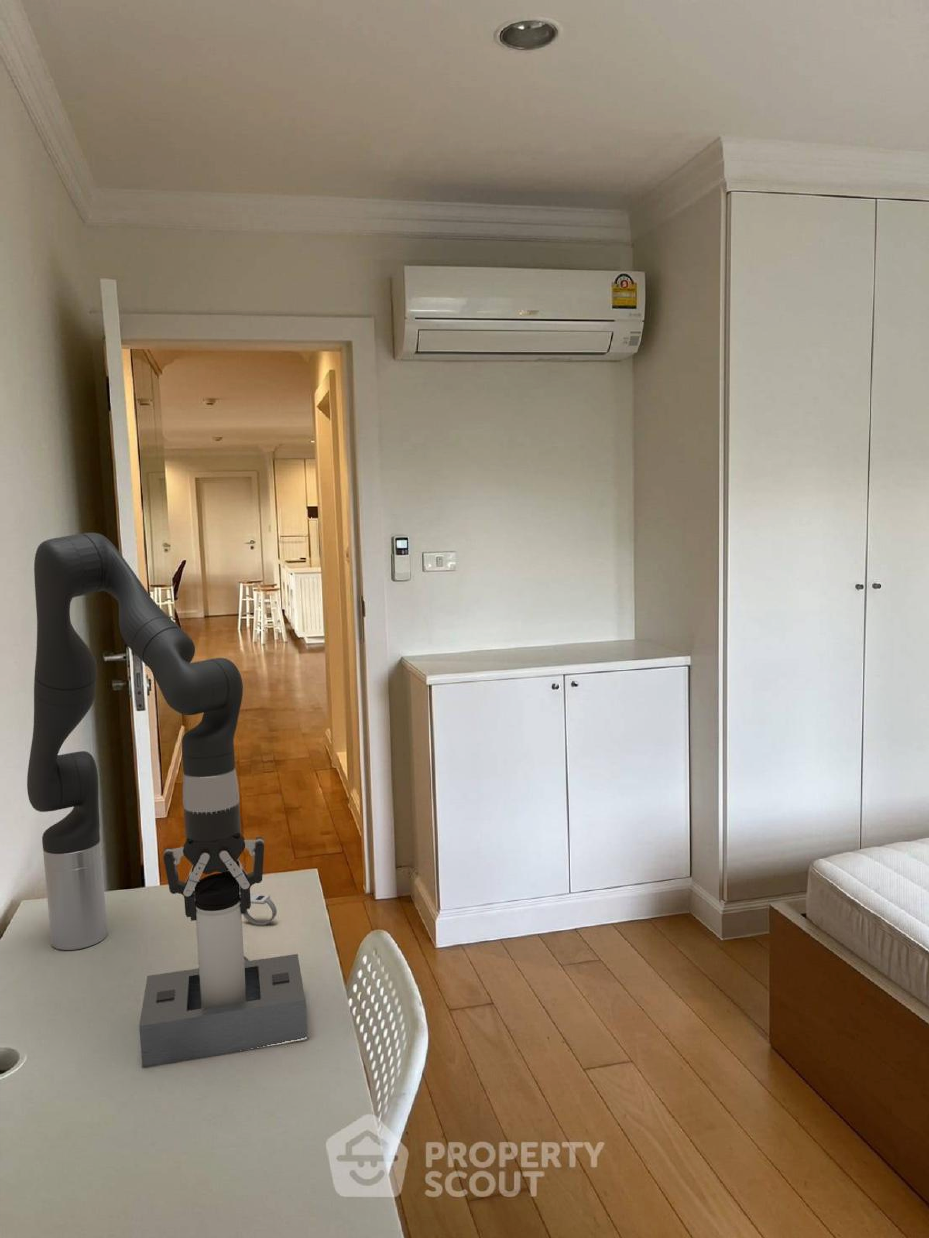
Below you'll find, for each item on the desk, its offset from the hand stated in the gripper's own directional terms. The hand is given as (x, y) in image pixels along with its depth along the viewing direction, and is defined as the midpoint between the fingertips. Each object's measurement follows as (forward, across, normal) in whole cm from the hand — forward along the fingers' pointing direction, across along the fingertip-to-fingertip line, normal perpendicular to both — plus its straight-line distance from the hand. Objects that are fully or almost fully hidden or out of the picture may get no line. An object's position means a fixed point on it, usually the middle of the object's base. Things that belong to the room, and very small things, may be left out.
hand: (218, 914), depth 132 cm
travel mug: (+15, 0, 0) cm, 15 cm away
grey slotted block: (+17, 0, 0) cm, 17 cm away
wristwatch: (+17, -6, -33) cm, 38 cm away
